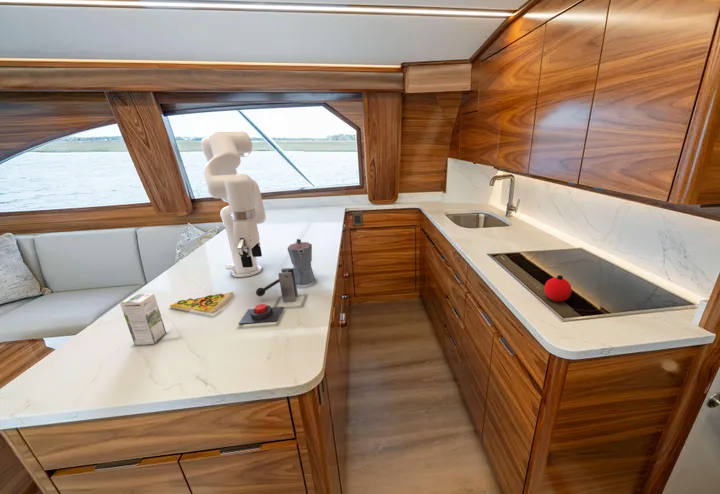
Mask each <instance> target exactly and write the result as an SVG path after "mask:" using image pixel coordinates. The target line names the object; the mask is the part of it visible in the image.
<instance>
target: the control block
mask: <svg viewBox="0 0 720 494" xmlns="http://www.w3.org/2000/svg"><path fill="white" fill-rule="evenodd" d="M265 305H266V307H267V311H266V312H264V313H258V314H257V313H255V307H253V308H248V309H247V310H246V312H245V313H244V315H243V317H241V319H240V321H239V322H238V325H239V326H242V325H252V324H253V325H254V324H255V325H256V324H267V323H277V322H278V321H279V318H280V317H281V314H282V313H283V312H282V311H283V310H284V306H275V307H272V306H271V305H268V304H265Z"/></svg>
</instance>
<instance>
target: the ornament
mask: <svg viewBox="0 0 720 494" xmlns="http://www.w3.org/2000/svg"><path fill="white" fill-rule="evenodd" d="M543 287H544V288H543V291H544V294H545V296H546V297H547V298H548V299H549V300H551V301H553V302H557V303H558V302H559V303H560V302H561V303H562V302H565V301H567V300H568V299H569V298H570V297H571V296H572V292H573V289H572V285H571V284H570V282H569V281H568V280H567V279H565V278H564V275H561V274H559V275H556V276H555V277H551V278H550V279H547V281H546V282H545V284H544V286H543Z"/></svg>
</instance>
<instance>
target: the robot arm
mask: <svg viewBox="0 0 720 494" xmlns="http://www.w3.org/2000/svg"><path fill="white" fill-rule="evenodd" d="M200 148H201V151H202V153H203V156H204V158H205V160H206V162H207V163H206V164H205V166H204V169H203V178H204V182H205V186H206V189H207V192H208V194H209V195H210V196H211V197H212V198H214V199H221V200H222V201H223V202H224V203H228V205H227V206H224V207H223V208H222V209H221V210H220V213H219V214H220V218H221V221H222V224H223V226H224V229H225V232H226V236H227V239H228V244H229V249H230V252H231V257H232V258H231V259H232V262H233V263H228V264H225V269H226V270H227V271H230V270H231V275H232V276H233V277H235V278H246V277H251V276H254V275H257V274H259V273H260V272H262V270H263V268H262V266H261V265H259V264H258V262H257V258H260V257H262V256H263V253H262V249H261V242H260V240H261V239H260V232H259V228H258V225H260V224H263V223H264V222H265V221H266V212H265V207H264V202H263V198H262V193H261V190H260V186H259V184H258V182H257V181H255V180H254V179H253V178H252V177H251V176H250V175H248V174H246V173H238V172H237V169H238V168H239V166H240V165H241V158H247V157H249V155H250V154H251V153H252V152H253V142H252V140H251V137H250V136H249V134H248V133H247V132H245V131H244V130H215V131H213V132H211V133H210V135H209V136H207V137H204V138H202V139H201V141H200Z"/></svg>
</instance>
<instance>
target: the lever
mask: <svg viewBox="0 0 720 494" xmlns="http://www.w3.org/2000/svg"><path fill="white" fill-rule="evenodd" d="M286 272H290V271H289V270H287V271H286ZM284 273H285V272H284ZM292 275H293V274H292ZM278 283H279V284H280V281H279V278H277V279H276V280H274V281H273V282H271V283H269V284H268V285H266V286H264V287H258V288H257V289H256V290H255V294H256V295H257V296H258V297H263V296H264V295H265V294H266V291H268V290H269V289H271V288H272V287H274V286H276V285H277V284H278Z"/></svg>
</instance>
